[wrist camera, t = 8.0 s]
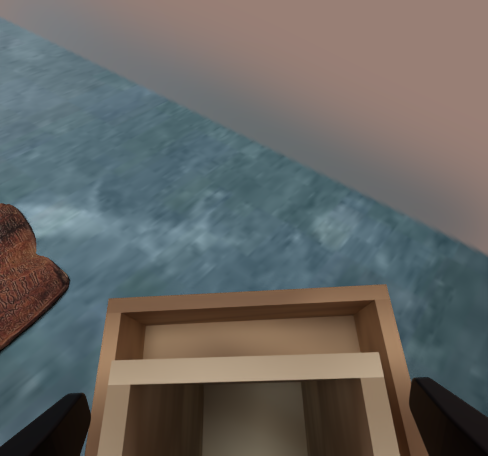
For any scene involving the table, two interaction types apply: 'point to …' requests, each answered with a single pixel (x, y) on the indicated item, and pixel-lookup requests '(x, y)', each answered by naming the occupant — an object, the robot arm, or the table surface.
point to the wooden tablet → (24, 276)
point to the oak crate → (260, 337)
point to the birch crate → (249, 407)
